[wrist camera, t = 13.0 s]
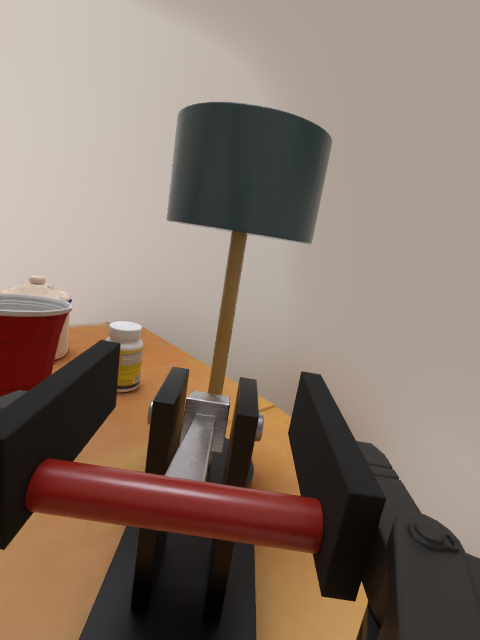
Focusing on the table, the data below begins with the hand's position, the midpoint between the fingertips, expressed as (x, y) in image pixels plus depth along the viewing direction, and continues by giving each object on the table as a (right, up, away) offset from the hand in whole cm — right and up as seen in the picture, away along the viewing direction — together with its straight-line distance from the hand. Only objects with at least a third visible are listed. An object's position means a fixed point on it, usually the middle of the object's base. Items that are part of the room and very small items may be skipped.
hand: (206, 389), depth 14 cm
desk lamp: (-2, -12, +18) cm, 22 cm away
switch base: (-2, -14, +8) cm, 16 cm away
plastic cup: (-24, -7, +25) cm, 35 cm away
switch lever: (-1, -3, 0) cm, 4 cm away
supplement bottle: (-15, -6, +33) cm, 37 cm away
